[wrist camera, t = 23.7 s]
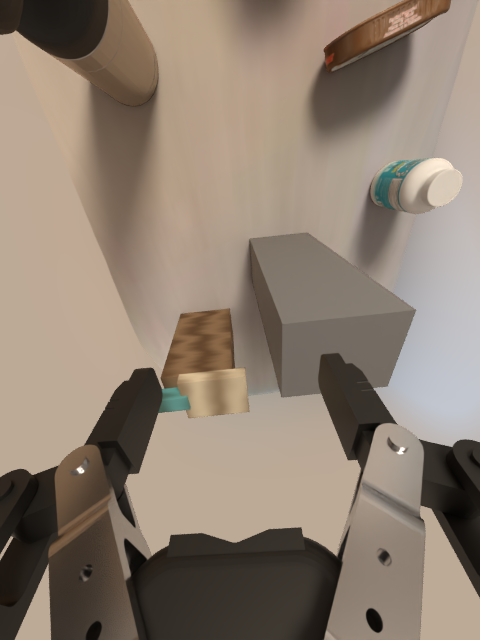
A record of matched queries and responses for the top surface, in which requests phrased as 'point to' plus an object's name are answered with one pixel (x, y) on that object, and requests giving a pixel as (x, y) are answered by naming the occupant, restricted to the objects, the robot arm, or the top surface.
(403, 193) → the pill bottle
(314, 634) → the robot arm
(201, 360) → the walnut block
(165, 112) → the top surface
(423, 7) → the tin
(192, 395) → the tan strapped package
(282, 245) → the charcoal plinth
